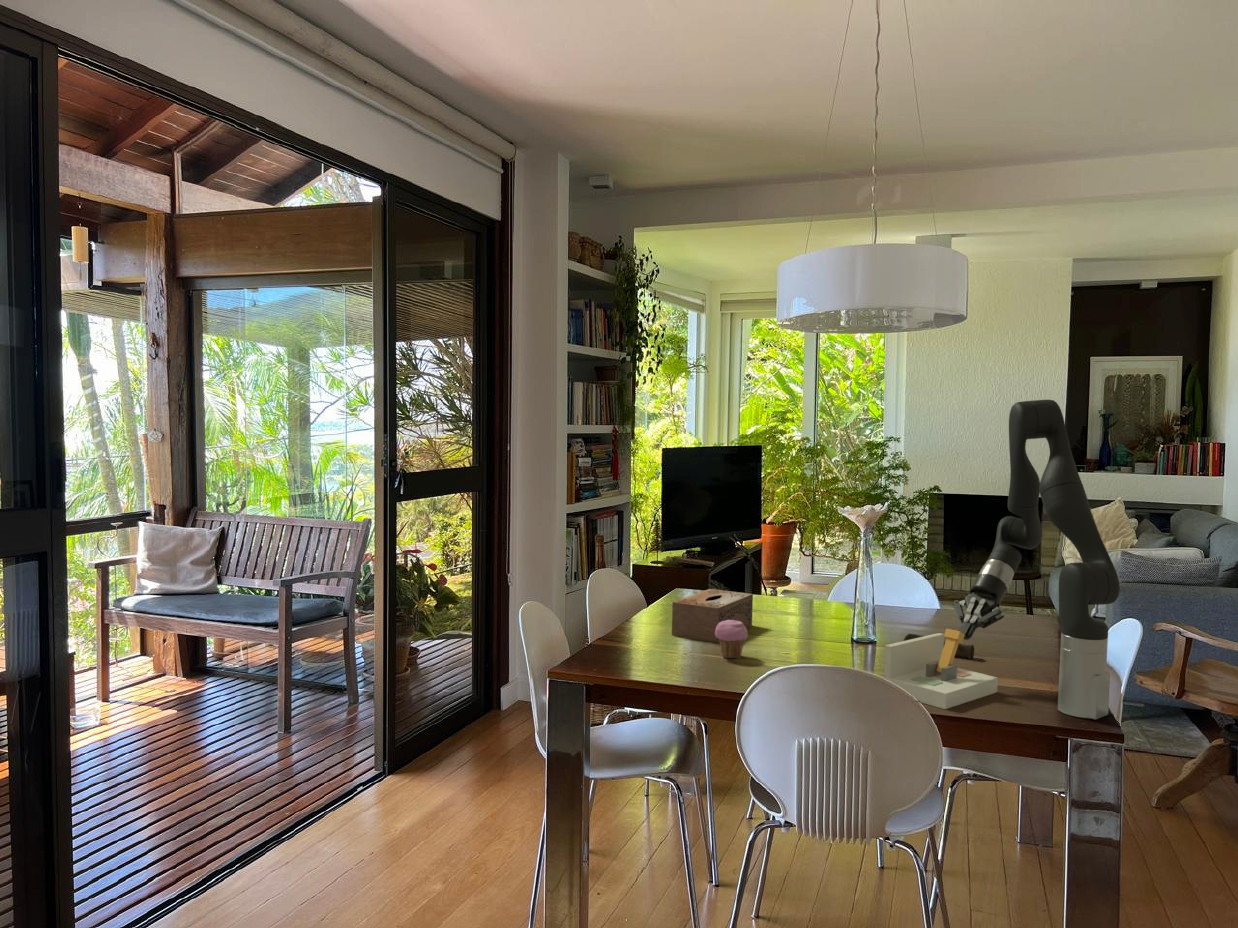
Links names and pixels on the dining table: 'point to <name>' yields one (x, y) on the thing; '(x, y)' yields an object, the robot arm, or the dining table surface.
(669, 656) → the dining table surface
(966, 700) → the white switch base
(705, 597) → the tissue box cover
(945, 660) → the lever
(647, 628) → the dining table surface
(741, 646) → the cupcake
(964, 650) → the hand tool
